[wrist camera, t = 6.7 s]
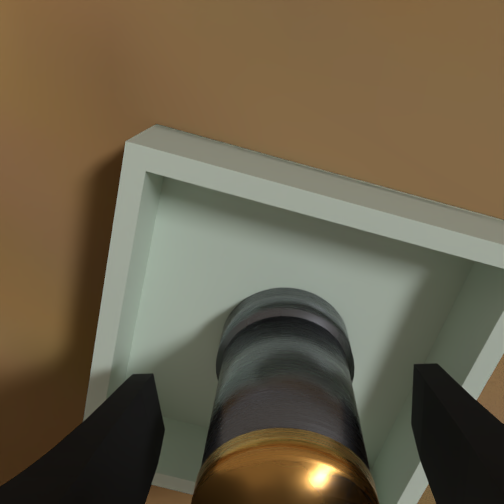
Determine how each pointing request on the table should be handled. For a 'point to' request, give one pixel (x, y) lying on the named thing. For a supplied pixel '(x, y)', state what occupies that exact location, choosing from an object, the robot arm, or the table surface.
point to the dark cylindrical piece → (284, 408)
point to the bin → (290, 276)
